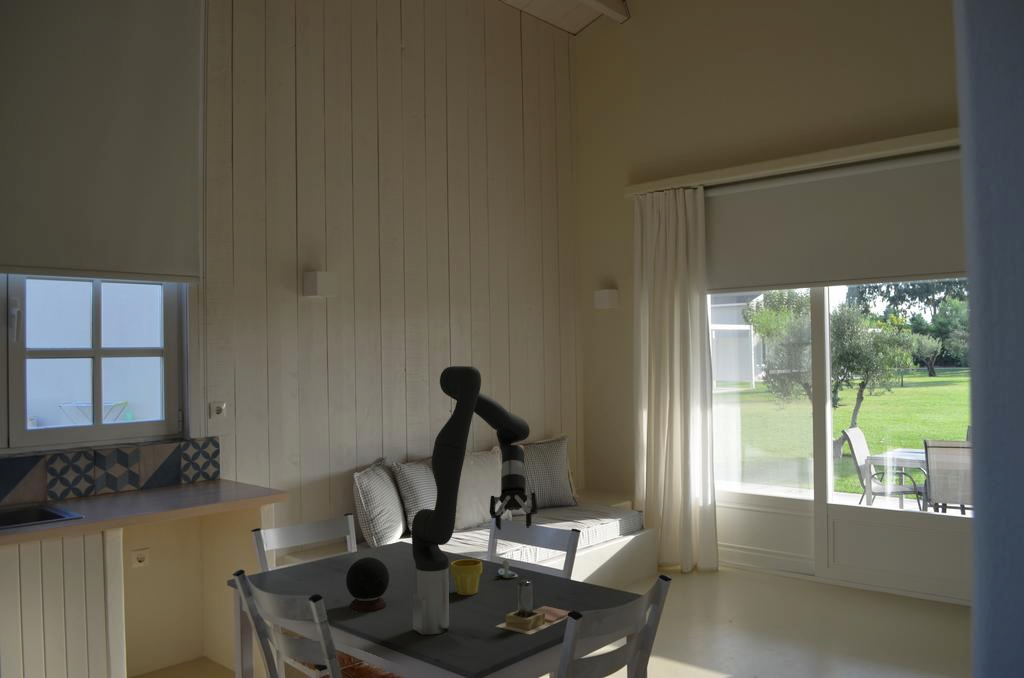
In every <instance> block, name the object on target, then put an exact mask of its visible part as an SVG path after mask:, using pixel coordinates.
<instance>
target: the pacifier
mask: <svg viewBox="0 0 1024 678" xmlns="http://www.w3.org/2000/svg"><path fill="white" fill-rule="evenodd" d="M502 566H503V568H501V567H500V568H499V569H498V570H497V572H498V574H499V575H500V576H502V577H503V578H504V579H511V578H512V579H513V578H514V579H515V578H518V577H519V576H518V574H517V573H516V572H514V571H511V570H509V569H510V564H509V562H508V560H507V559H503V561H502Z"/></svg>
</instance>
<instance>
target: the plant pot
mask: <svg viewBox="0 0 1024 678" xmlns="http://www.w3.org/2000/svg"><path fill="white" fill-rule="evenodd" d="M450 573H451V575H452V576H453V581H454V585H455V589H456V594H458V595H460V596H470V595H471V596H473V595H476V594H477V593H478V589H479V583H480V578H481V574H482V573H483V562H482V561H481V560H480V559H479V560H478V559H474V558H473V559H472V558H471V559H470V558H464V559H457V560H454V561H451V563H450Z"/></svg>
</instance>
